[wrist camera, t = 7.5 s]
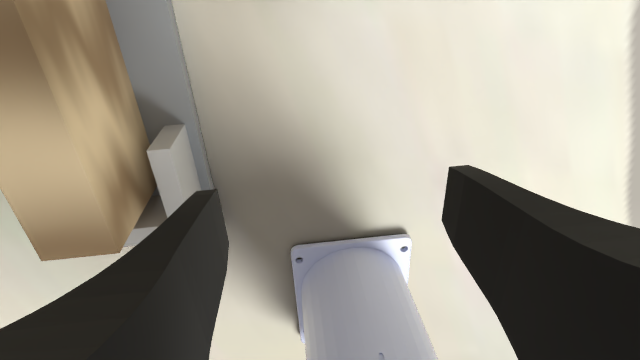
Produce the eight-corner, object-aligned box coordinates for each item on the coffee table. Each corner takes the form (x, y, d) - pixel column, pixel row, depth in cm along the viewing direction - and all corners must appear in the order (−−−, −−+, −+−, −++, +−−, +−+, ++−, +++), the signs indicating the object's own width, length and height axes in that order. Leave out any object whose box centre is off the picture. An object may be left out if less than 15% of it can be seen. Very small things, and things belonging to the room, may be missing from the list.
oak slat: (160, 179, 20) (119, 252, 15) (103, 184, 20) (41, 260, 15) (29, -248, 12) (-163, -417, 7) (-69, -246, 12) (-343, -418, 7)
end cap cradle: (222, 225, 23) (213, 267, 19) (88, 238, 22) (56, 285, 19) (72, -434, 11) (-18, -611, 7) (-225, -436, 10) (-461, -629, 7)
